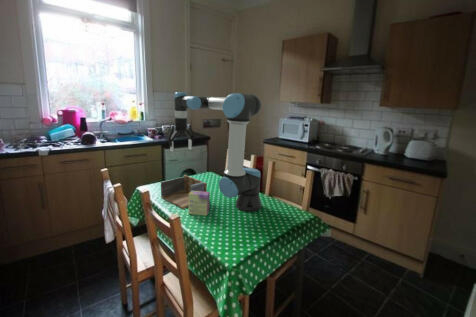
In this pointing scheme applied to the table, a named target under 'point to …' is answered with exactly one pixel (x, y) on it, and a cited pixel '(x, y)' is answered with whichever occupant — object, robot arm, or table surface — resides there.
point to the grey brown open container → (181, 190)
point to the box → (199, 202)
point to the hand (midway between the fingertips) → (181, 150)
